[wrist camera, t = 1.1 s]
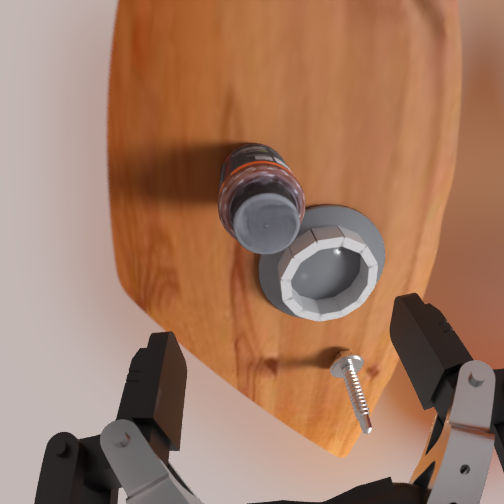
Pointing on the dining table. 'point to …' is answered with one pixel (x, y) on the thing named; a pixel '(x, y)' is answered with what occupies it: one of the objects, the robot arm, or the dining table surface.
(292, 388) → the dining table surface
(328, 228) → the bottle coaster
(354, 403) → the screw
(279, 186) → the supplement bottle
